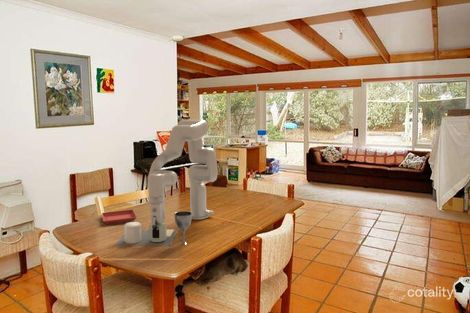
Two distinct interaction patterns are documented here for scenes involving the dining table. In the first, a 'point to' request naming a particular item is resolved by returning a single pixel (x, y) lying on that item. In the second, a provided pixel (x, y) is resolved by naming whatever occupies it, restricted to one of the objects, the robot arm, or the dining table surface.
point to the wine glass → (183, 222)
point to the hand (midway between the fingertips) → (158, 234)
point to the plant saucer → (118, 217)
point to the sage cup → (161, 232)
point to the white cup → (132, 232)
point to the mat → (146, 239)
